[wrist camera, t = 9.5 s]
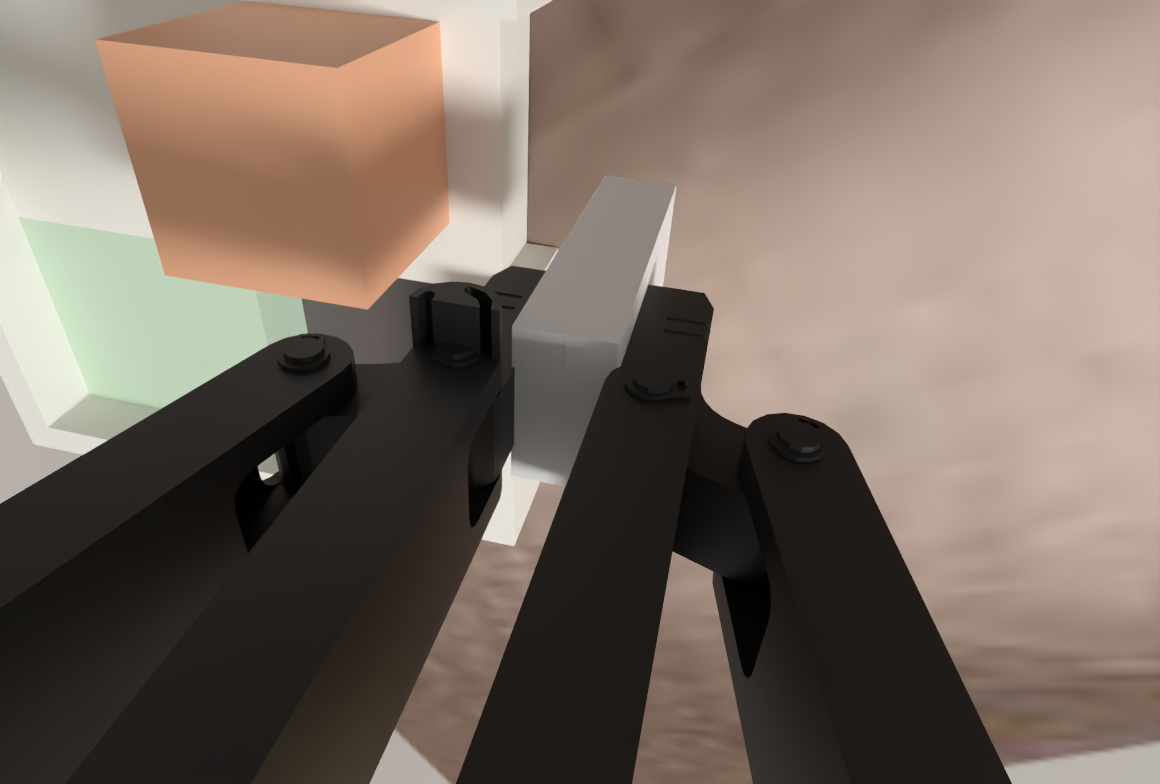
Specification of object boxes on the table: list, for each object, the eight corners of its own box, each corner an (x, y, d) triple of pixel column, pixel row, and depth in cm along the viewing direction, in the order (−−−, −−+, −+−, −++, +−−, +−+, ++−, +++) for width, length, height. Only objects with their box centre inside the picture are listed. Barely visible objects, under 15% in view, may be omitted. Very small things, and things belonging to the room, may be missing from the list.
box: (-290, -748, 15) (-634, -943, 11) (600, -806, 12) (523, -1085, 9) (122, 376, 31) (33, 444, 27) (549, 458, 28) (513, 546, 24)
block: (245, 1, 18) (95, 39, 14) (439, 21, 18) (337, 67, 14) (282, 198, 21) (165, 275, 17) (449, 222, 20) (368, 309, 17)
